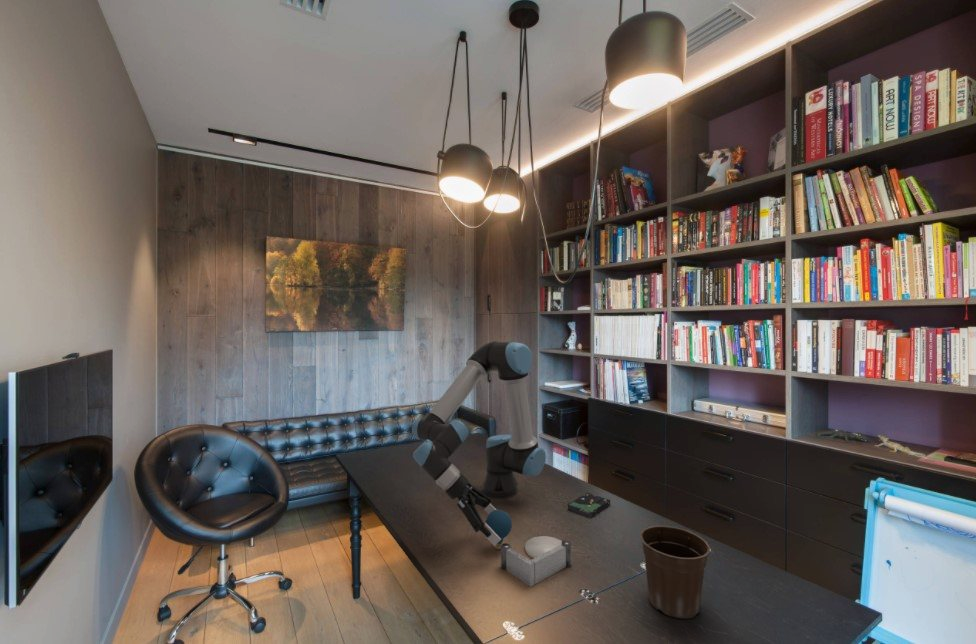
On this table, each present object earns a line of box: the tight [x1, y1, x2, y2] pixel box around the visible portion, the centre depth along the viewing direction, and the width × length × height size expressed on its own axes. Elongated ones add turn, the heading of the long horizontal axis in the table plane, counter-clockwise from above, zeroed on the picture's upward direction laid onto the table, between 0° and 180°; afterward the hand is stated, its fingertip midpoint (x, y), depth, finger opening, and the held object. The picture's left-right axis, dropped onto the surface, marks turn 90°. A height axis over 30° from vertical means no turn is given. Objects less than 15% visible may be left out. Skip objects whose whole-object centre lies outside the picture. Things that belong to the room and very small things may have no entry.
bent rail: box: [500, 539, 572, 588], centre depth 125 cm, size 18×13×6 cm
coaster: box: [524, 535, 563, 559], centre depth 133 cm, size 13×13×1 cm
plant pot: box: [639, 525, 711, 620], centre depth 108 cm, size 16×16×16 cm
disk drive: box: [567, 492, 611, 519], centre depth 163 cm, size 10×3×15 cm
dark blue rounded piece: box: [485, 509, 513, 550], centre depth 134 cm, size 8×8×12 cm
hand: (499, 531), depth 134 cm, fingers open, 13 cm apart
